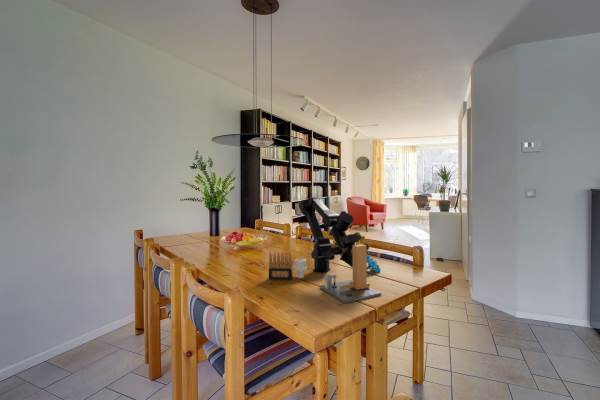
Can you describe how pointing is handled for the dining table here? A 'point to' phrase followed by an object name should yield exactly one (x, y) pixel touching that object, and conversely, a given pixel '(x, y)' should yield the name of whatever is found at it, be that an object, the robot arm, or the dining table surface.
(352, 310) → the dining table surface
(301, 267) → the pipe fitting
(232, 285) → the dining table surface
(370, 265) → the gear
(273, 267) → the ammunition clip
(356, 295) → the plate
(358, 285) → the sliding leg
